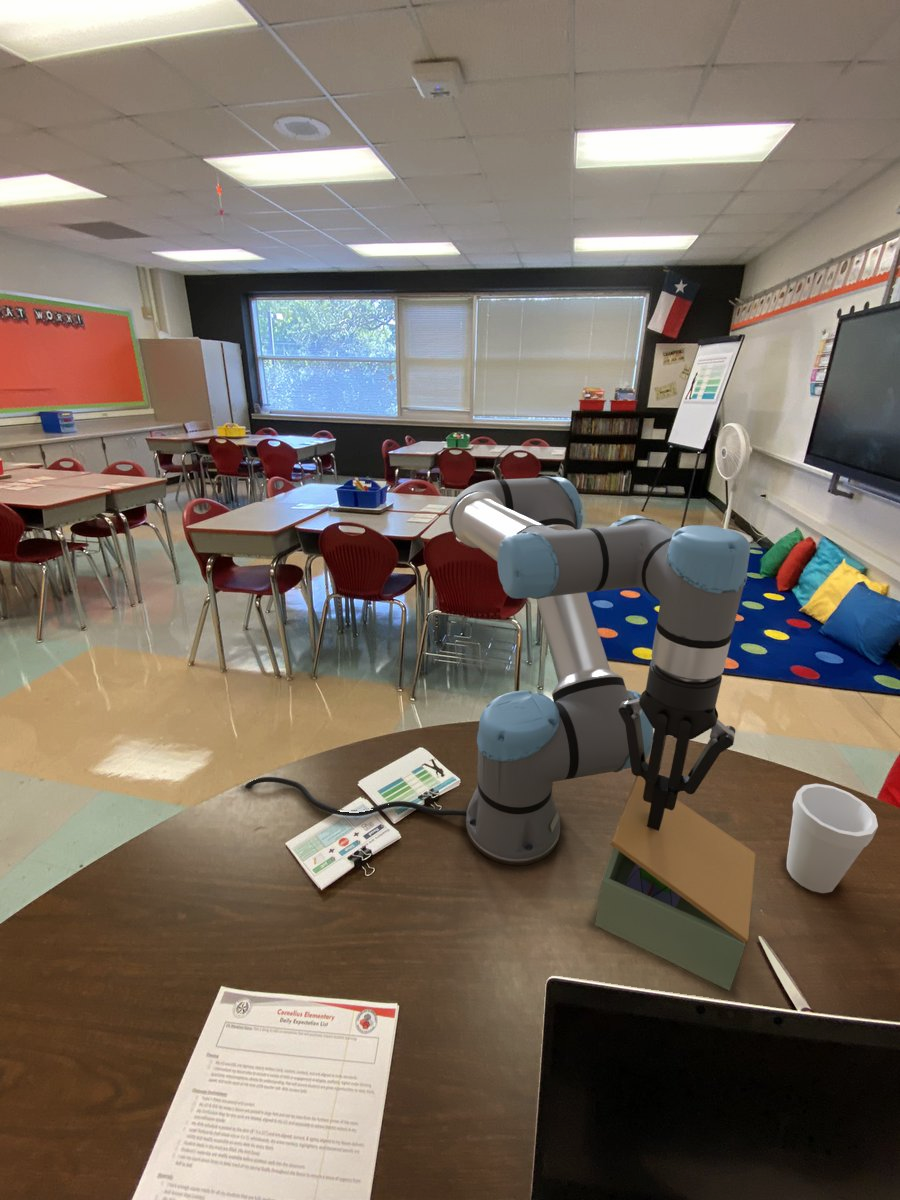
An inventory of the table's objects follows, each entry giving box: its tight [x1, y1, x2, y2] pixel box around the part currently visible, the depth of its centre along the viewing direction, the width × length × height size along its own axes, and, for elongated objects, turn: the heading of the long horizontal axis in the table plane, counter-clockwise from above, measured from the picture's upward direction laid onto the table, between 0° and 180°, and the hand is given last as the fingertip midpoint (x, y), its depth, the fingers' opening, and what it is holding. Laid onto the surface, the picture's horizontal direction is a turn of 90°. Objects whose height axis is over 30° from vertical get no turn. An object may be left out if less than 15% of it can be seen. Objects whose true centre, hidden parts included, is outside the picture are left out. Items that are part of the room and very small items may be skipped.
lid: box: [609, 776, 756, 944], centre depth 69 cm, size 17×14×1 cm
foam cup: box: [786, 782, 879, 894], centre depth 77 cm, size 10×9×13 cm
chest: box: [594, 847, 746, 992], centre depth 73 cm, size 17×14×9 cm
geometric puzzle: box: [624, 864, 681, 908], centre depth 74 cm, size 7×7×8 cm
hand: (655, 821), depth 70 cm, fingers closed
